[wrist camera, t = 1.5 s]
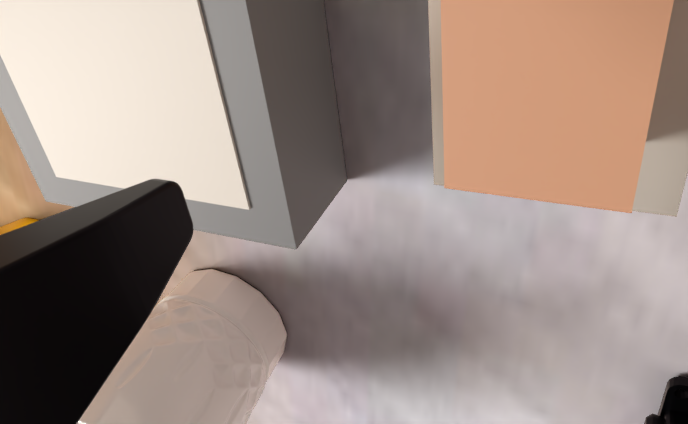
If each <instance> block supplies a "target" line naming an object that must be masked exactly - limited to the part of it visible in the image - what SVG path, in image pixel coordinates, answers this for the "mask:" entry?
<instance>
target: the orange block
mask: <svg viewBox="0 0 688 424" xmlns="http://www.w3.org/2000/svg"><path fill="white" fill-rule="evenodd" d="M673 2H674V0H441V46H442V94H443V141H444V188H448V189H456V190H463V191H471V192H478V193H485V194H493V195H500V196H508V197H515V198H522V199H530V200H537V201H545V202H552V203H560V204H567V205H574V206H582V207H589V208H597V209H604V210H612V211H619V212H626V213H632V208H633V203H634V198H635V193H636V188H637V183H638V178H639V173H640V168H641V163H642V158H643V153H644V148H645V143H646V138H647V133H648V128H649V123H650V118H651V113H652V108H653V103H654V98H655V93H656V88H657V83H658V78H659V73H660V68H661V63H662V58H663V53H664V48H665V43H666V38H667V33H668V28H669V23H670V18H671V13H672V8H673Z"/></svg>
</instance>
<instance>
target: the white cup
mask: <svg viewBox="0 0 688 424" xmlns="http://www.w3.org/2000/svg"><path fill="white" fill-rule="evenodd" d="M286 338H287V332H286V330H285V327H284V325H283V322H282V320H281V317H280V314H279V313H278V311H277V310H276V309H275V308H274V307H273V306H272V305H271V303H270V302H269V301H268V300H267V299H266V298H265V297H264V295H263V294H262V293H261V292H259V291H258V290H256V289H255V288H254V287H252V286H251V285H249V284H248V283H246V282H244V281H243V280H241V279H240V278H238V277H236V276H234V275H230V274H227V273H224V272H220V271H217V270H214V269H207V270H199V271H192V272H190V273H189V274H188V275H187V276H186V277H185V278H184V279H183V280H182V281H181V282H180V283H179V284H178V285H177V286H176V287H175V288H174V289H173V290H172V291H171V292H170V293H169V294H168V295H167V296H166V297H165V298H164V299H162V300H161V301H160V302H159V303H158V304H157V305H155V307H154V309H153V310H152V312H151V314H150V315H149V317H148V319H147V320H146V322H145V323H144V325H143V327H142V328H141V330H140V331H139V333H138V334H137V336H136V337H135V338H134V340H133V341H132V343H131V344H130V346H129V347H128V349H127V350H126V352H125V353H124V355H123V356H122V358H121V359H120V361H119V362H118V364H117V365H116V367H115V368H114V370H113V371H112V373H111V374H110V375H109V377H108V378H107V380H106V381H105V383H104V384H103V386H102V387H101V389H100V390H99V392H98V393H97V395H96V396H95V398H94V399H93V401H92V402H91V404H90V405H89V407H88V408H87V410H86V411H85V412H84V414H83V415H82V417H81V418H80V420H79V421H78V423H77V424H246V423H247V421H248V418H249V416H250V414H251V412H252V410H253V409H254V407H255V406H256V404H257V402H258V400H259V398H260V396H261V394H262V392H263V390H264V388H265V385H266V382H267V380H268V378H269V377H270V375H271V373H272V372H273V370H274V368H275V366H276V365H277V363H278V361H279V359H280V358H281V356H282V354H283V352H284V348H285V343H286Z"/></svg>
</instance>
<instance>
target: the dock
mask: <svg viewBox="0 0 688 424" xmlns="http://www.w3.org/2000/svg"><path fill="white" fill-rule="evenodd" d="M0 108H1V110H2V112H3V114H4V116H5V118H6V120H7V122H8V124H9V126H10V128H11V130H12V132H13V134H14V137H15V139H16V141H17V143H18V145H19V147H20V149H21V151H22V153H23V155H24V157H25V159H26V161H27V163H28V165H29V167H30V170H31V172H32V174H33V176H34V178H35V180H36V182H37V184H38V186H39V188H40V190H41V192H42V194H43V196H44V198H45V201H47V202H52V203H58V204H63V205H68V206H73V207H77V206H80V205H82V204H85V203H88V202H90V201H93V200H96V199H98V198H101V197H104V196H106V195H109V194H112V193H115V192H117V191H120V190H123V189H125V188H128V187H131V186H133V185H136V184H139V183H141V182H144V181H147V180H150V179H163V180H169V181H174V182H176V183H178V185H179V186H180V187H181V189H182V191H183V194H184V197H185V200H186V203H187V206H188V209H189V212H190V215H191V218H192V221H193V230H197V231H203V232H208V233H213V234H218V235H223V236H228V237H234V238H239V239H244V240H249V241H254V242H259V243H265V244H270V245H275V246H280V247H285V248H291V249H297V248H298V247H299V245H300V244H301V243H302V241H303V240H304V239H305V237H306V236H307V234H308V233H309V232H310V230H311V229H312V228H313V226H314V225H315V224H316V222H317V221H318V219H319V218H320V217H321V215H322V214H323V213H324V211H325V210H326V209H327V207H328V206H329V205H330V203H331V202H332V200H333V199H334V198H335V196H336V195H337V194H338V192H339V191H340V190H341V188H342V187H343V185H344V184H345V183H346V181H347V176H346V168H345V160H344V153H343V145H342V138H341V130H340V122H339V115H338V107H337V99H336V92H335V84H334V76H333V69H332V61H331V54H330V46H329V38H328V31H327V23H326V15H325V8H324V0H0Z"/></svg>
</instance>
